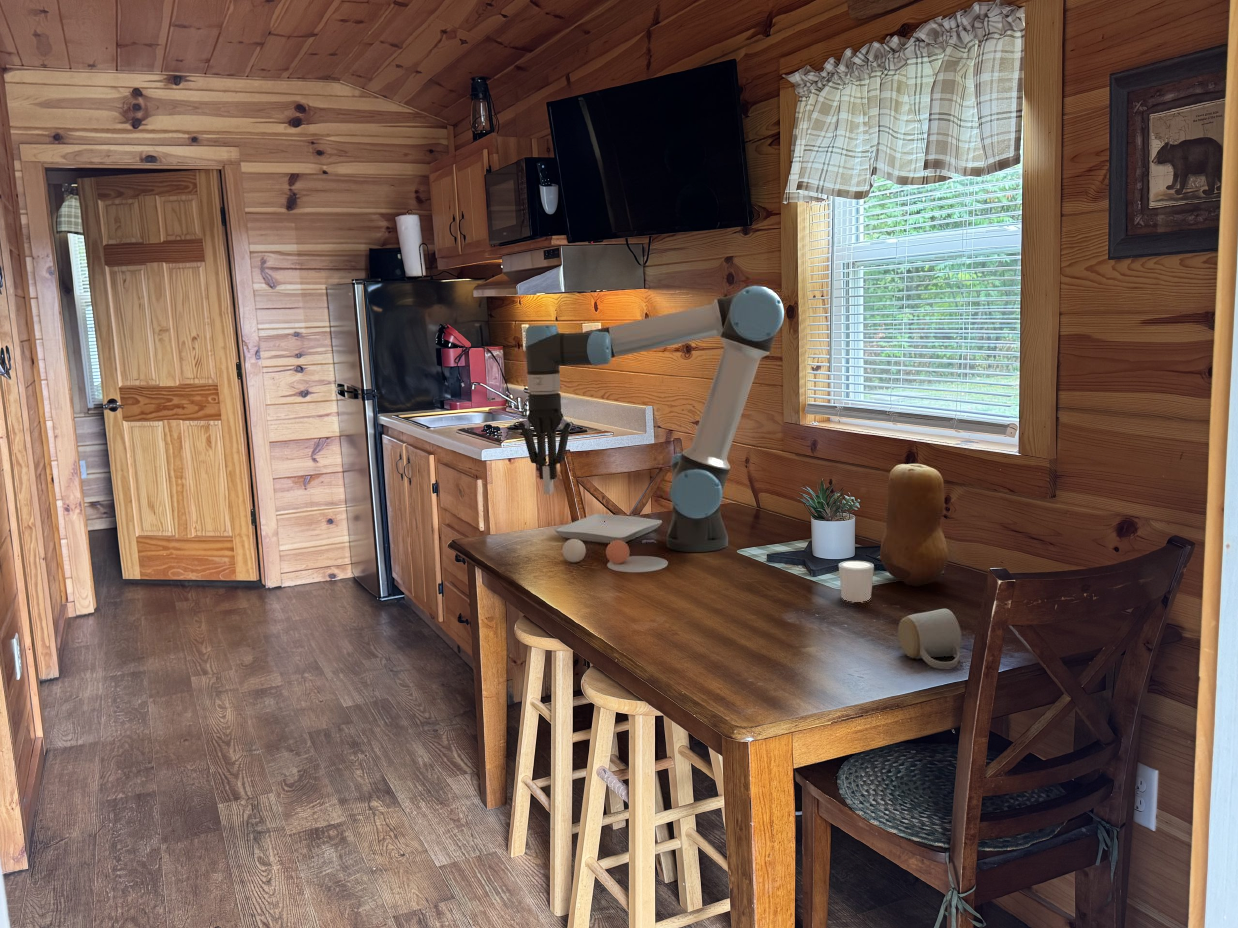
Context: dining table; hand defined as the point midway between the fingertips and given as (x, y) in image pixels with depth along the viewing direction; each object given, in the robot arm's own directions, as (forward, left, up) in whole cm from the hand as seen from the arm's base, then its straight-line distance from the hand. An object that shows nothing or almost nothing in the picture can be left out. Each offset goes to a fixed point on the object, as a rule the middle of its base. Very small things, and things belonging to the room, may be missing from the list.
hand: (548, 492), depth 234 cm
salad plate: (-6, -28, -17) cm, 33 cm away
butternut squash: (-82, +6, -17) cm, 84 cm away
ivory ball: (-6, 0, -14) cm, 15 cm away
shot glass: (-71, +19, -17) cm, 75 cm away
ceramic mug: (-85, +51, -17) cm, 101 cm away
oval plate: (-21, 0, -16) cm, 27 cm away
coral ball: (-16, 0, -14) cm, 21 cm away
